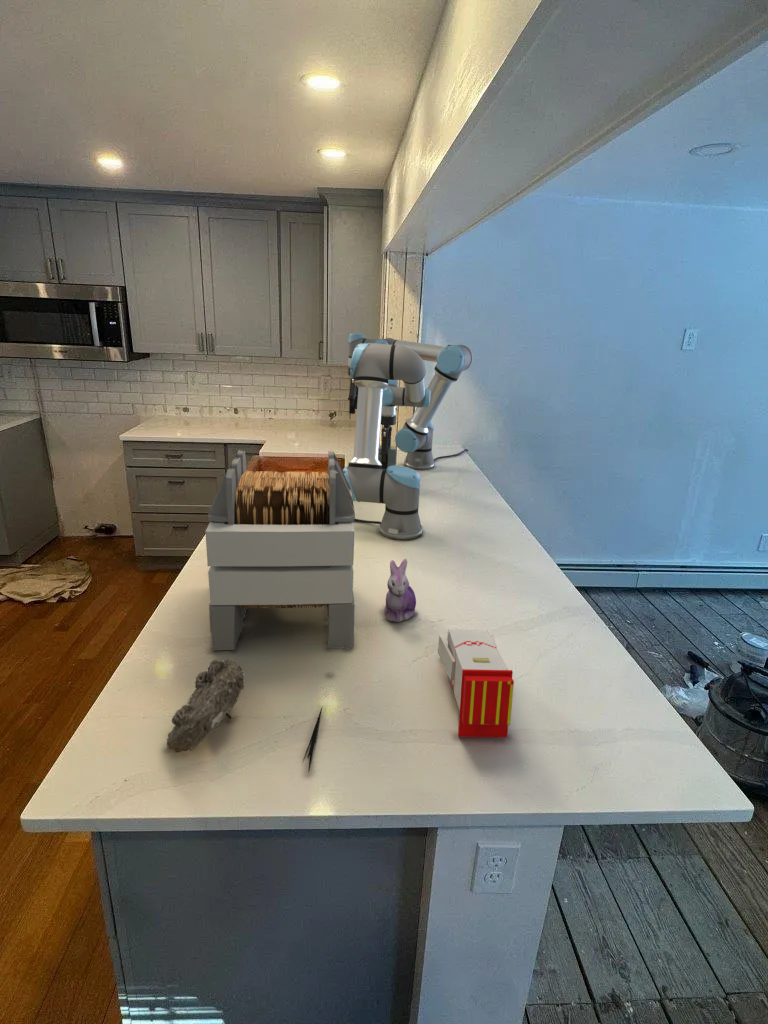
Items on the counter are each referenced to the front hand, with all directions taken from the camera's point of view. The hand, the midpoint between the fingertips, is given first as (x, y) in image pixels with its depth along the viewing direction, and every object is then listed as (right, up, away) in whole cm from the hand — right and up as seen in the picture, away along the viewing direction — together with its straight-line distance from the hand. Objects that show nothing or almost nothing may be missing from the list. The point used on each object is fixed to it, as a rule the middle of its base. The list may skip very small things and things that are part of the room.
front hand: (385, 466), depth 253 cm
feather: (-13, -60, -144) cm, 157 cm away
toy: (+17, -58, -135) cm, 147 cm away
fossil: (-33, -59, -145) cm, 160 cm away
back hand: (-15, +29, +26) cm, 42 cm away
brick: (0, -2, +1) cm, 2 cm away
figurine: (+4, -47, -106) cm, 116 cm away
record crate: (-25, -46, -108) cm, 120 cm away
